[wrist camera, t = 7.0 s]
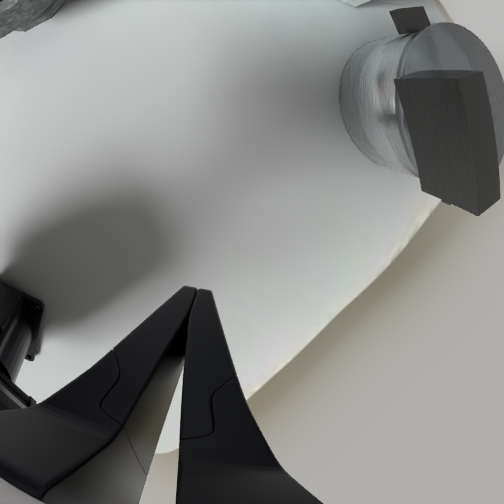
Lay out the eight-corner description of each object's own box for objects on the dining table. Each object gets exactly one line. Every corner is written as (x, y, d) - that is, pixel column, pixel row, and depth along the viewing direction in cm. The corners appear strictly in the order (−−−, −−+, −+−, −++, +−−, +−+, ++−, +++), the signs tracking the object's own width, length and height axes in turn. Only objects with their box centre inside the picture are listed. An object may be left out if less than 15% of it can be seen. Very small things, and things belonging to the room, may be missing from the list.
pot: (370, 206, 22) (421, 235, 17) (307, 35, 16) (357, 12, 11) (452, 159, 23) (503, 176, 17) (410, 14, 16) (465, 3, 11)
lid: (418, 222, 16) (478, 257, 12) (365, 36, 11) (438, 20, 7) (507, 161, 16) (557, 179, 12) (477, 20, 11) (534, 18, 7)
